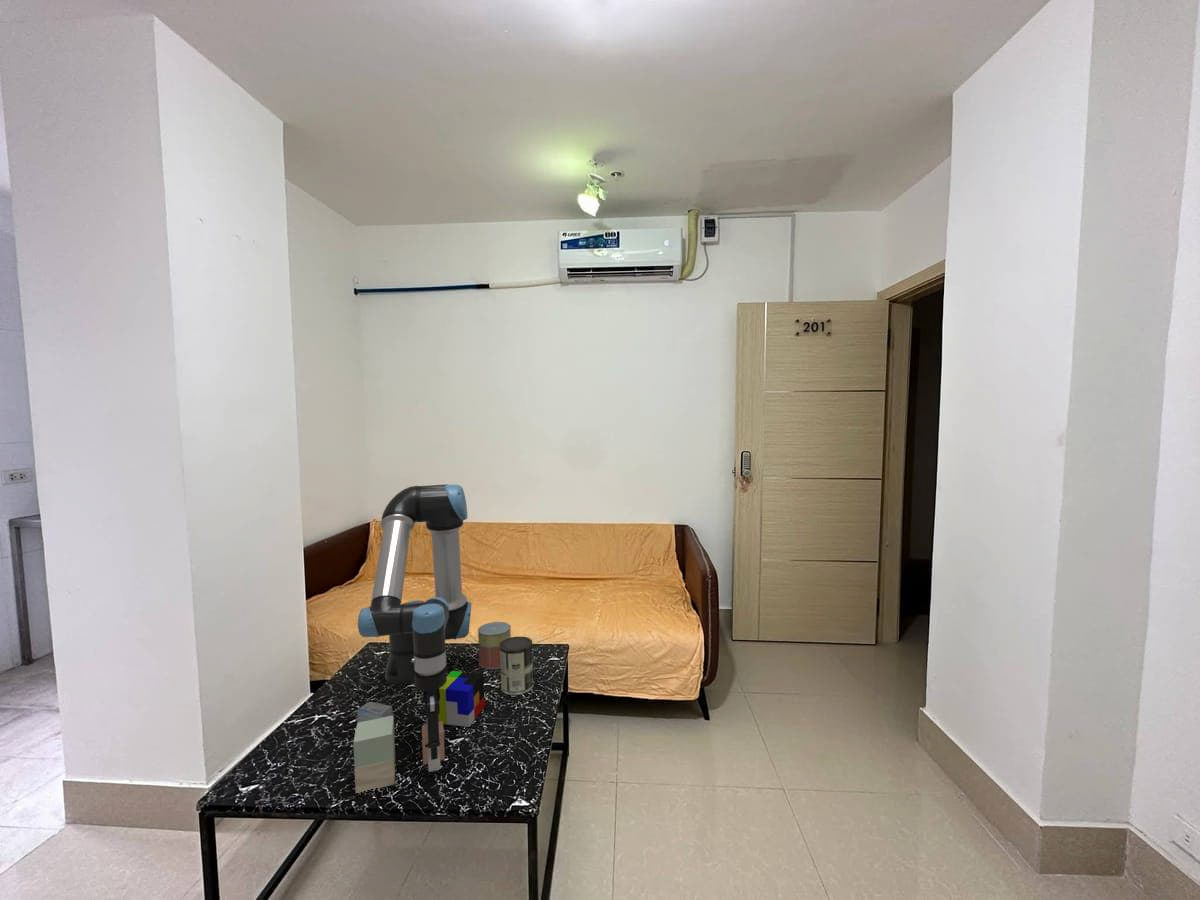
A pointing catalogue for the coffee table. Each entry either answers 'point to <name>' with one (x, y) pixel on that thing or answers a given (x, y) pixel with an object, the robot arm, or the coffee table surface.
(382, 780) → the beech block
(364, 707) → the medicine box
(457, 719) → the puzzle toy
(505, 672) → the coffee can
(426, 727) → the terracotta block
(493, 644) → the canned food
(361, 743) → the sage block
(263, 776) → the coffee table surface
